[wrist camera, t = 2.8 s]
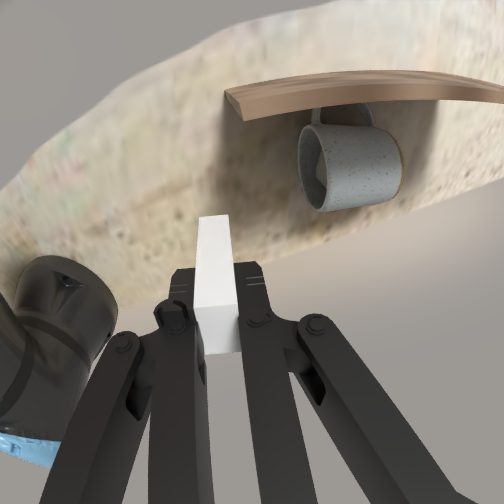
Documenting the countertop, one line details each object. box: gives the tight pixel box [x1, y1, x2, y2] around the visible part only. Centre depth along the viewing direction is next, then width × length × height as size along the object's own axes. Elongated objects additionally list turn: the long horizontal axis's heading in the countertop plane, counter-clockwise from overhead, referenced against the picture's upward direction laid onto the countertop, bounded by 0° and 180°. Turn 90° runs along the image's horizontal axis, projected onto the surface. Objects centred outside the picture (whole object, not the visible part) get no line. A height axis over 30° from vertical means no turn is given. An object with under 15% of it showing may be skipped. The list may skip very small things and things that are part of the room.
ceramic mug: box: [297, 102, 404, 213], centre depth 23 cm, size 11×8×8 cm
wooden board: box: [225, 70, 504, 121], centre depth 16 cm, size 24×1×15 cm, turn 102°
